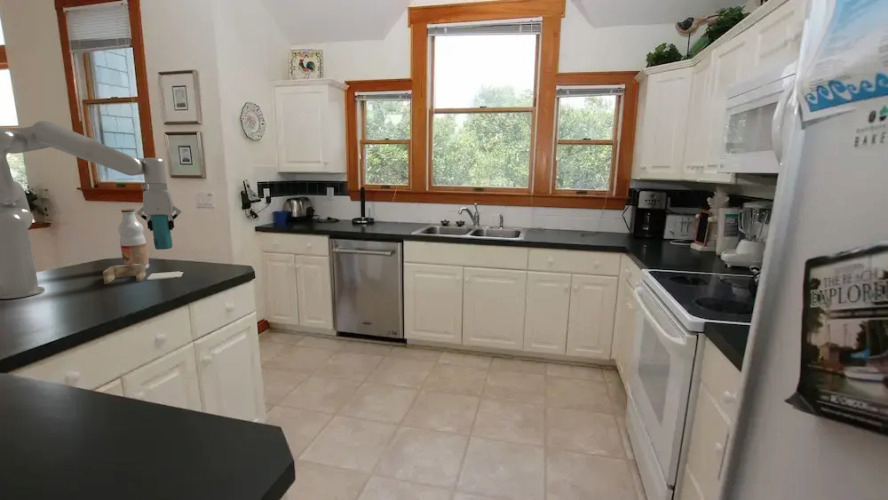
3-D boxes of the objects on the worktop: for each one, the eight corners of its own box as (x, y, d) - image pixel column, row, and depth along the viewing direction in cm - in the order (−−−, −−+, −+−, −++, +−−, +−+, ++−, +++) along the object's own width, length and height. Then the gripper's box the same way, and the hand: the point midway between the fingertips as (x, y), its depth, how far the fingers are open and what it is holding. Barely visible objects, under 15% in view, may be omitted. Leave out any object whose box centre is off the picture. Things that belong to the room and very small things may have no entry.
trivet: (147, 280, 169) (146, 278, 169) (151, 274, 178) (151, 273, 178) (180, 277, 174) (180, 276, 174) (183, 272, 183) (183, 271, 183)
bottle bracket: (104, 284, 162) (102, 272, 161) (112, 277, 173) (111, 266, 172) (140, 281, 167) (139, 269, 166) (146, 274, 178) (145, 263, 177)
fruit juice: (145, 271, 185) (136, 210, 179) (121, 272, 182) (110, 210, 176) (152, 265, 193) (144, 207, 187) (129, 267, 190) (119, 208, 184)
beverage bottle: (176, 250, 177) (171, 204, 173) (165, 253, 171) (159, 206, 166) (163, 249, 178) (157, 204, 173) (151, 252, 171) (144, 205, 167)
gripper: (128, 188, 162) (134, 232, 165) (179, 188, 170) (184, 230, 173) (133, 187, 169) (138, 230, 172) (181, 187, 176) (186, 228, 180)
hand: (161, 229), depth 172 cm, fingers closed on beverage bottle, 6 cm apart
